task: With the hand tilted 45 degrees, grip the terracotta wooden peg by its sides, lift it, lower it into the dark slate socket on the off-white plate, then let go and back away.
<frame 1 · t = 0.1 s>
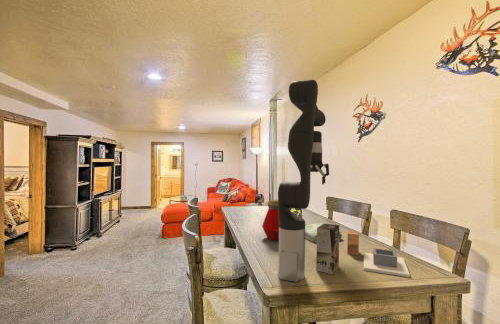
hand: (314, 184, 137), 29 cm above the table, tool pointing down, fingers open, 8 cm apart
peg: (353, 252, 121), on the table
towel: (317, 236, 147), on the table
coffee box: (327, 269, 103), on the table
socket stand: (384, 264, 107), on the table
bottle: (275, 239, 141), on the table
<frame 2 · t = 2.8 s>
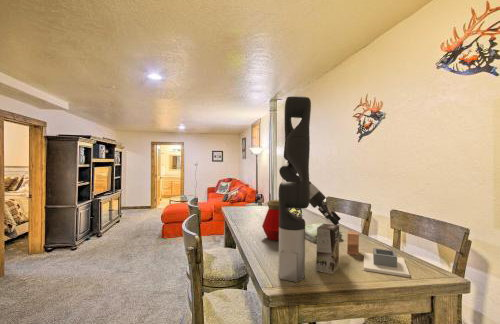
hand: (338, 222, 123), 13 cm above the table, tool tilted 45°, fingers open, 8 cm apart
nothing on the table moved.
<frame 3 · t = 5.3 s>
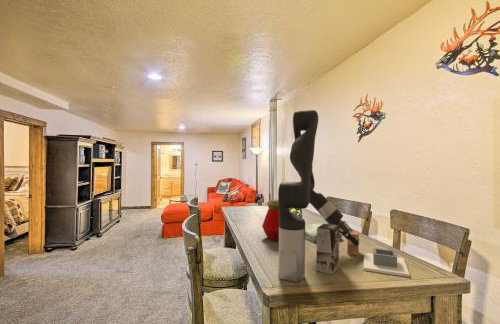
hand: (357, 242, 120), 5 cm above the table, tool tilted 45°, fingers closed on peg, 4 cm apart
peg: (353, 252, 121), on the table, touching gripper
everything else where it was.
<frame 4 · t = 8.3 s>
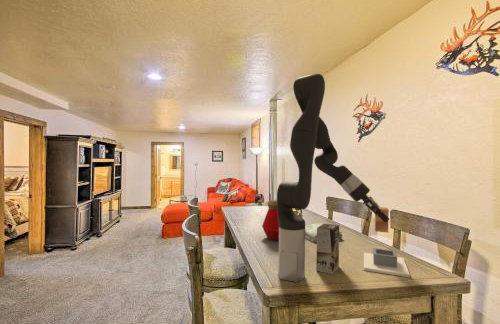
hand: (386, 219, 107), 18 cm above the table, tool tilted 45°, fingers closed on peg, 4 cm apart
peg: (381, 230, 108), point 13 cm above the table, touching gripper
everything else where it was.
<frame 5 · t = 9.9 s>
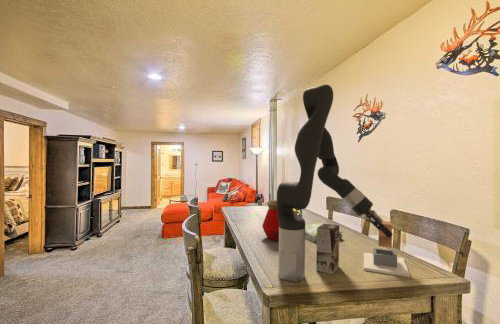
hand: (390, 234, 106), 12 cm above the table, tool tilted 45°, fingers closed on peg, 4 cm apart
peg: (384, 245, 107), point 8 cm above the table, touching gripper
everything else where it was.
when the fingers open (8 cm above the table, at t = 11.4 s): peg drops 2 cm, resting on socket stand.
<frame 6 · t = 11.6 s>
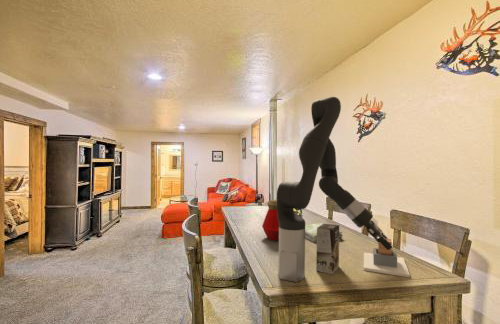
hand: (389, 245, 106), 8 cm above the table, tool tilted 45°, fingers open, 6 cm apart
peg: (384, 262, 107), point 1 cm above the table, touching socket stand
everything else where it was.
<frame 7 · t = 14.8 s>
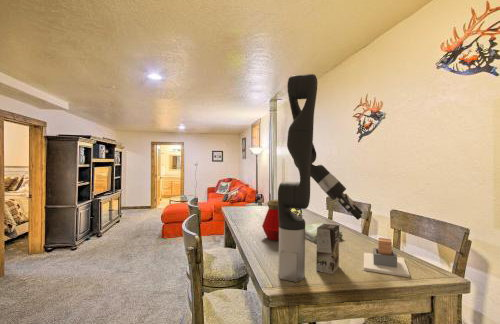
hand: (360, 216, 110), 18 cm above the table, tool tilted 45°, fingers open, 8 cm apart
nothing on the table moved.
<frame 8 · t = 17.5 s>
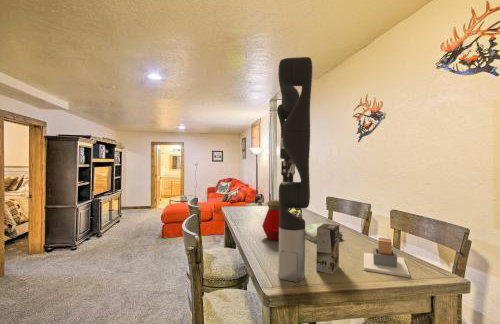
hand: (288, 184, 121), 30 cm above the table, tool pointing down, fingers open, 8 cm apart
nothing on the table moved.
at the end: peg 0.1 cm off-centre on the socket stand, point 1.0 cm above the socket stand's base; peg tilted 0°; the gripper is holding nothing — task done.
